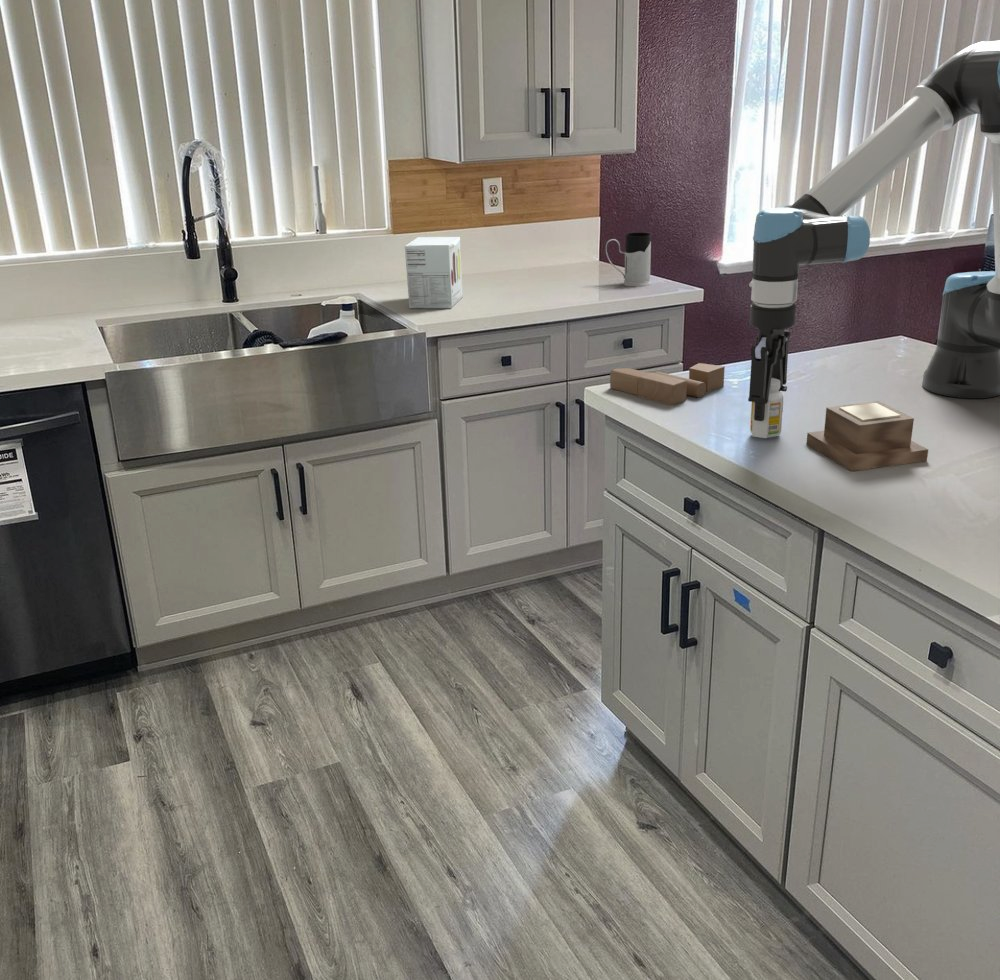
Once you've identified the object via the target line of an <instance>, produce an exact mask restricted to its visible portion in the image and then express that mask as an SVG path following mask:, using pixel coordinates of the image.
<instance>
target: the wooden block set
mask: <svg viewBox="0 0 1000 980" xmlns="http://www.w3.org/2000/svg"><path fill="white" fill-rule="evenodd" d="M725 367H726V366H722V365H716V364H708V363H702V362H698V363H697V364H695V365H693V366H691V367H689V368H688V369H689V373H688V376H689V377H688V378H687V377H682V376H678V375H673V374H669V373H665V372H661V371H655V372H647V371H642V370H638V369H634V368H630V367H628V368H627V367H625V368H615V369H612V370H610V371H609V373H610V375H609V376H610V379H609V382H610V383H609V387H610V390H611V389H612V390H615V391H618V392H623V393H627V394H630V395H634V396H637V397H638V398H642V399H646V400H648V401H654V402H656V403H662V404H664V405H669V406H676V405H678V404H680V403H683V402H686V401H687V396H689V397H690V396H691V397H693V398H703V397H704V396H705V394H706V393H710V392H712V391H715V390H718V389H720V388H723V387H724V386H725Z"/></svg>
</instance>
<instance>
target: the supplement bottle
mask: <svg viewBox="0 0 1000 980" xmlns="http://www.w3.org/2000/svg"><path fill="white" fill-rule="evenodd" d="M779 389H780V380H778V379H775V378H771V384H770V390H769V397H768V402H770V412H769V428H768V438H775V437H777V436H779V435H781V433H782V424H783V413H784V412H783V411H784V410H783V409H784V394H783V393H781V392H782V391H780V392H779V391H778V390H779ZM753 403H754V402H751V408H750V409H751V410H750V429H749V431H750V434H752V421H753Z"/></svg>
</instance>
